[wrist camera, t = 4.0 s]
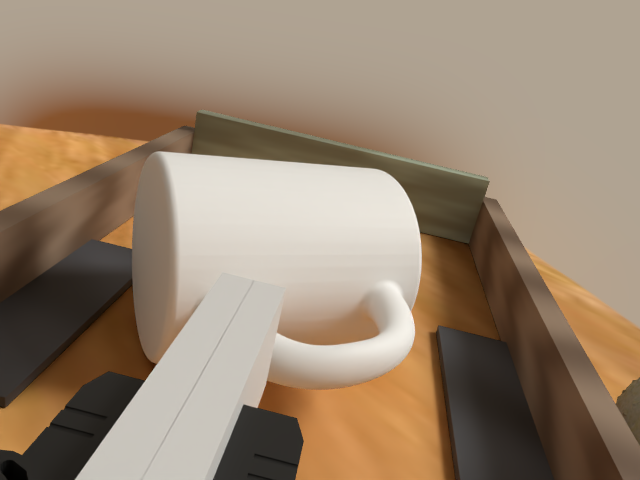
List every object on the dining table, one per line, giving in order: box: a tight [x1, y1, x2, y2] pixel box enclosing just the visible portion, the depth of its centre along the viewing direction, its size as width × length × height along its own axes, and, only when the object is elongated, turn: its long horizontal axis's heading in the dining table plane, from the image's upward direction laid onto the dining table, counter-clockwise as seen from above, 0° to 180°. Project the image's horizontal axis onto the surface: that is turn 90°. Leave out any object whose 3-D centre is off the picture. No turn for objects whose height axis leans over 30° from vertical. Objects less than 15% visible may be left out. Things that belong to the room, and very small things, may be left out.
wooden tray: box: [0, 110, 640, 480], centre depth 29 cm, size 30×24×5 cm
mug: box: [132, 151, 422, 390], centre depth 22 cm, size 12×10×8 cm
